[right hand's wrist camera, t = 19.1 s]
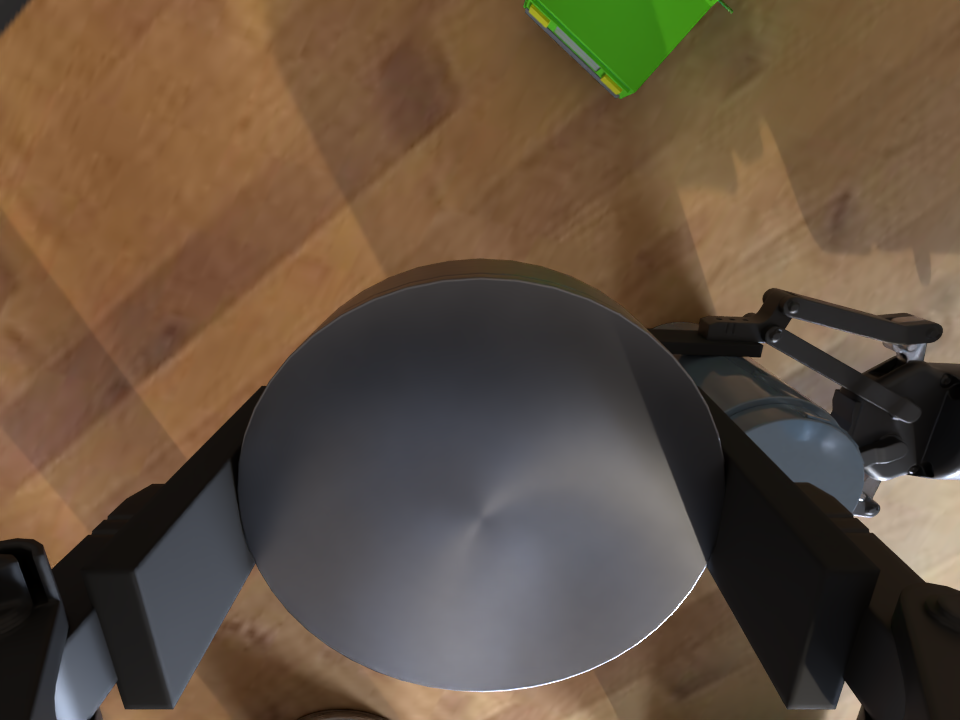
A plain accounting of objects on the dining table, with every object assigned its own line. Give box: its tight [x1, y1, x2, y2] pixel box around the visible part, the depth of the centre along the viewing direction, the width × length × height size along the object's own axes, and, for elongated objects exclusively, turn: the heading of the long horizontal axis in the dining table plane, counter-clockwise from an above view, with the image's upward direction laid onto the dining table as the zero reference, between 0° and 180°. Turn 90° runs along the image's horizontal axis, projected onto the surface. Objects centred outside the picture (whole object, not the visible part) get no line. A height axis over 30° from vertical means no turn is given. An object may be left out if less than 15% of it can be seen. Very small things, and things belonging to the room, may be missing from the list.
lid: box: [237, 259, 726, 692], centre depth 11 cm, size 10×10×2 cm
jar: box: [653, 322, 864, 513], centre depth 33 cm, size 9×9×15 cm
